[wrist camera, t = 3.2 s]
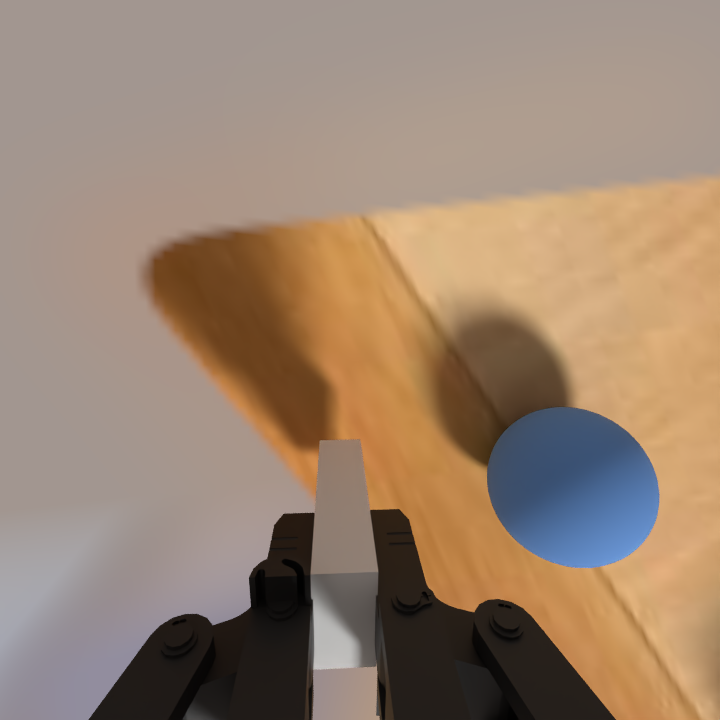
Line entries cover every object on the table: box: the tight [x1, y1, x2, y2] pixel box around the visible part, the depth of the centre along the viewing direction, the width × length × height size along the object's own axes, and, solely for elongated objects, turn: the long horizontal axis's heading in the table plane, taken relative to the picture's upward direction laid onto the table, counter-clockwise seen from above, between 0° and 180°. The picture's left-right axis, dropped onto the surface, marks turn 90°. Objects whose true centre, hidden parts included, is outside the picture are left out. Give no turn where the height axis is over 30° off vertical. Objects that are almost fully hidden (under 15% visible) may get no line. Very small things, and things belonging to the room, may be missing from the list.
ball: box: [487, 407, 659, 568], centre depth 15 cm, size 6×6×6 cm
